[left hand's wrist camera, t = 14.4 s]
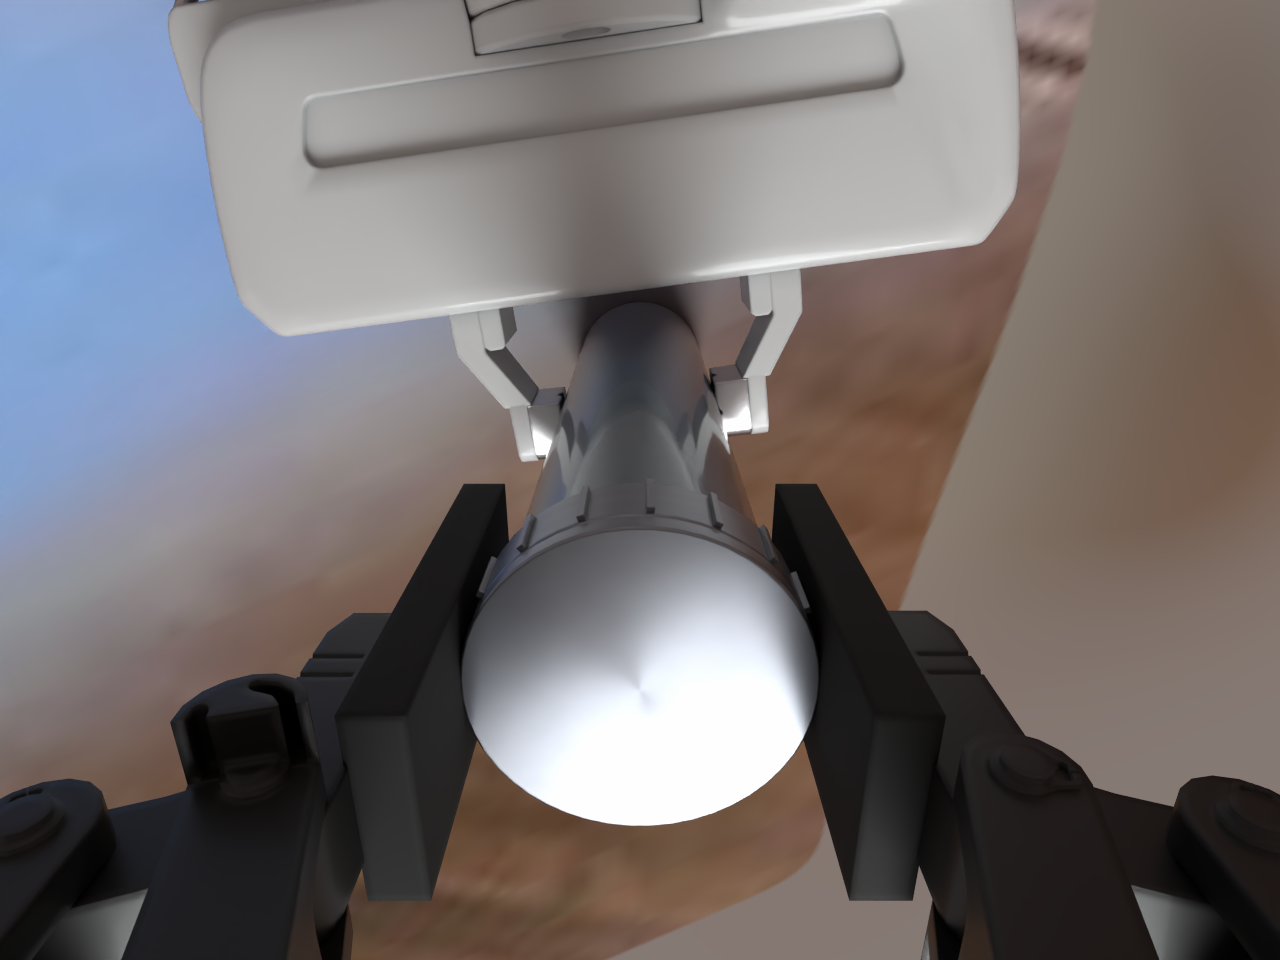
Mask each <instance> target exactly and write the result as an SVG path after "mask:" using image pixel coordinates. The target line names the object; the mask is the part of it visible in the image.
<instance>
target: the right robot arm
mask: <svg viewBox="0 0 1280 960" xmlns="http://www.w3.org/2000/svg"><path fill="white" fill-rule="evenodd" d="M198 1H199V0H175V3H174V6H173V8H172V9H171V11H170V13H169V17H168V31H169V38H170V43H171V47H172V50H173V53H174V56H175V60H176V63H177V66H178V69H179V72H180V76H181V79H182V82H183V85H184V88H185V92H186V95H187V98H188V100H189V103H190V105H191V107H192V109H193V111H194V113H195V114H196V116H197V117H198V119H199V120H200V122H201V123H202V126H203V134H204V141H205V148H206V155H207V161H208V168H209V174H210V181H211V186H212V192H213V197H214V202H215V207H216V212H217V217H218V222H219V227H220V231H221V236H222V240H223V244H224V249H225V253H226V257H227V261H228V265H229V268H230V272H231V276H232V280H233V283H234V286H235V289H236V292H237V295H238V297H239V299H240V301H241V303H242V304H243V306H244V307H245V308H246V309H247V310H249V311H250V312H251V313H252V314H253V315H254V316H256V317H257V318H258V319H259V320H260V321H261V322H262V323H264V324H265V325H266V326H267V327H268V328H270V329H271V330H272V331H274V332H275V333H276V334H278V335H281V336H296V335H304V334H312V333H319V332H327V331H334V330H342V329H349V328H357V327H364V326H372V325H379V324H387V323H394V322H402V321H409V320H417V319H424V318H432V317H439V316H447V315H449V319H450V324H451V328H452V333H453V337H454V342H455V346H456V351H457V355H458V357H459V358H460V359H461V360H462V361H463V362H464V364H465V365H466V366H467V367H468V368H469V369H470V370H471V371H472V373H473V374H474V375H475V376H476V377H477V378H478V379H479V380H480V381H481V383H482V384H483V385H484V386H485V387H486V388H487V389H488V390H489V391H490V393H491V394H492V395H493V396H494V397H495V398H496V399H497V400H498V402H499V403H500V404H501V405H502V406H503V407H504V408H509V410H510V415H511V420H512V424H513V429H514V434H515V439H516V444H517V449H518V454H519V457H520V459H521V461H522V462H525V461H538V460H540V459H546V455H547V452H548V449H549V446H550V443H551V440H552V437H553V434H554V431H555V428H556V425H557V422H558V419H559V416H560V413H561V410H562V407H563V404H564V401H565V398H566V390H565V387H557V388H547V389H539V388H538V387H537V385H536V384H535V383H534V382H533V380H532V379H531V378H530V377H529V375H528V374H527V373H526V372H525V370H524V369H523V368H522V367H521V365H520V364H519V363H518V362H517V360H516V359H515V358H514V357H513V355H512V354H511V353H510V352H509V350H508V349H507V348H506V347H505V345H506V344H507V343H508V341H509V340H510V339H511V337H512V336H513V335H514V333H515V332H516V331H517V328H516V323H515V317H514V311H513V307H514V306H522V305H529V304H537V303H544V302H552V301H559V300H567V299H574V298H582V297H589V296H597V295H604V294H612V293H619V292H627V291H634V290H642V289H649V288H657V287H664V286H672V285H679V284H687V283H694V282H702V281H709V280H717V279H724V278H732V277H740V286H741V296H742V301H743V303H744V304H745V305H746V307H747V308H748V309H749V311H750V312H751V313H752V314H754V315H755V316H756V318H755V320H754V322H753V324H752V327H751V329H750V331H749V333H748V336H747V338H746V340H745V342H744V344H743V347H742V349H741V351H740V353H739V356H738V358H737V360H736V362H735V363H736V364H734V365H727V366H721V367H714V368H709V372H710V383H711V386H712V390H713V393H714V396H715V399H716V402H717V405H718V408H719V411H720V414H721V417H722V420H723V423H724V426H725V429H726V432H727V435H728V437H729V436H738V435H747V434H755V433H763V432H768V427H769V418H768V404H767V390H766V376H767V375H770V374H771V372H772V370H773V368H774V366H775V364H776V362H777V360H778V358H779V356H780V354H781V352H782V350H783V348H784V346H785V344H786V342H787V340H788V338H789V337H790V335H791V333H792V331H793V329H794V327H795V325H796V323H797V321H798V319H799V317H800V315H801V313H802V295H801V273H800V268H807V267H815V266H822V265H830V264H837V263H845V262H852V261H860V260H867V259H875V258H882V257H890V256H897V255H905V254H912V253H920V252H927V251H935V250H942V249H950V248H957V247H964V246H971V245H976V244H979V243H981V242H983V241H984V240H985V239H986V238H987V237H988V235H989V234H990V233H991V232H992V231H993V229H994V228H995V227H996V225H997V224H998V222H999V221H1000V219H1001V218H1002V216H1003V215H1004V214H1005V212H1006V211H1007V209H1008V208H1009V206H1010V205H1011V203H1012V201H1013V199H1014V197H1015V193H1016V189H1017V182H1018V173H1019V156H1020V79H1019V57H1018V42H1017V29H1016V17H1015V7H1014V0H207V1H201V2H198Z"/></svg>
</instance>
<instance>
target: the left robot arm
mask: <svg viewBox="0 0 1280 960" xmlns="http://www.w3.org/2000/svg"><path fill="white" fill-rule="evenodd" d="M508 542H509V536H508V522H507V508H506V494H505V484H464V485H463V487H462V488H461V490H460V492H459V494H458V496H457V497H456V499H455V501H454V503H453V505H452V506H451V508H450V510H449V512H448V513H447V515H446V517H445V519H444V521H443V522H442V524H441V526H440V528H439V530H438V531H437V533H436V535H435V537H434V539H433V540H432V542H431V544H430V546H429V547H428V549H427V551H426V553H425V555H424V556H423V558H422V560H421V562H420V564H419V565H418V567H417V569H416V571H415V573H414V574H413V576H412V578H411V580H410V581H409V583H408V585H407V587H406V589H405V590H404V592H403V594H402V596H401V598H400V599H399V601H398V603H397V605H396V607H395V608H394V610H393V612H392V613H354V614H352V615H351V616H349V617H348V618H347V619H345V620H344V621H342V622H341V623H340V624H338V625H337V626H335V627H334V628H333V629H331V630H330V631H328V632H327V634H326V635H325V637H324V638H323V640H322V641H321V643H320V644H319V646H318V647H317V649H316V650H315V652H314V653H313V658H310V659H309V661H308V662H307V663H306V665H305V666H304V668H303V669H302V671H301V672H300V673H301V675H300V677H297V678H296V679H295V678H292V677H288V676H284V675H280V674H253V675H248V676H244V677H240V678H236V679H232V680H228V681H225V682H223V683H221V684H218V685H216V686H214V687H212V688H209V689H207V690H205V691H203V692H201V693H200V694H198V695H197V696H196V697H194V698H193V699H192V700H190V701H189V702H187V703H186V704H185V705H183V706H182V707H181V709H180V710H179V711H178V713H177V714H176V715H175V716H174V718H173V719H172V720H171V722H170V723H171V727H172V730H173V734H174V738H175V741H176V745H177V748H178V752H179V755H180V759H181V763H182V766H183V770H184V773H185V777H186V780H187V784H188V786H187V788H186V791H183V792H180V793H177V794H173V795H170V796H166V797H162V798H158V799H153V800H149V801H145V802H140V803H136V804H131V805H127V806H123V807H118V808H114V809H109V810H108V809H107V806H106V803H105V800H104V797H103V794H102V791H100V790H99V789H98V788H97V787H96V786H94V785H93V784H92V783H91V782H88V781H81V780H75V779H63V780H56V781H49V782H42V783H39V784H36V785H33V786H30V787H27V788H24V789H21V790H18V791H16V792H13V793H11V794H9V795H7V796H5V797H3V798H1V799H0V960H351V949H352V938H353V929H352V922H351V916H350V910H349V905H348V901H349V899H350V896H351V894H352V891H353V889H354V886H355V884H356V881H357V879H358V876H359V874H360V871H361V869H362V871H363V876H364V882H365V887H366V893H367V898H368V901H431V899H432V895H433V892H434V888H435V885H436V881H437V878H438V874H439V871H440V867H441V864H442V860H443V857H444V853H445V850H446V846H447V843H448V839H449V836H450V832H451V829H452V825H453V822H454V818H455V815H456V811H457V808H458V804H459V801H460V797H461V794H462V790H463V787H464V783H465V780H466V776H467V773H468V769H469V766H470V762H471V759H472V755H473V752H474V748H475V745H476V741H477V739H476V737H475V735H474V733H473V731H472V728H471V726H470V724H469V721H468V719H467V716H466V713H465V709H464V705H463V699H462V690H461V680H460V661H461V654H462V650H463V645H464V641H465V637H466V634H467V632H468V629H469V626H470V624H471V621H472V618H473V616H474V613H475V610H476V608H477V605H478V602H479V600H480V598H479V597H476V594H477V591H478V589H479V586H480V583H481V581H482V578H483V576H484V573H485V571H486V568H487V565H488V563H489V561H490V559H491V557H492V556H493V557H495V558H498V556H499V554H500V553H501V551H502V550H503V548H504V547H505V546H506V545H507V543H508ZM772 543H773V544H774V545H775V547H776V548H777V549H778V551H779V552H780V553H781V555H782V557H783V559H784V561H785V562H786V564H787V566H788V568H789V569H790V572H791V573H793V572H795V571H796V572H797V575H798V577H799V580H800V582H801V585H802V587H803V590H804V593H805V595H806V598H807V600H808V603H809V605H810V608H811V611H812V613H809V614H806V615H807V617H808V620H809V623H810V626H811V628H812V631H813V634H814V636H815V639H816V643H817V648H818V653H819V657H820V686H819V695H818V703H817V707H816V710H815V714H814V718H813V720H812V723H811V725H810V727H809V729H808V732H807V734H806V736H805V738H804V743H805V747H806V750H807V754H808V757H809V761H810V764H811V768H812V771H813V775H814V778H815V782H816V785H817V789H818V792H819V796H820V799H821V803H822V806H823V810H824V813H825V817H826V820H827V824H828V827H829V830H830V834H831V837H832V841H833V845H834V848H835V851H836V855H837V858H838V862H839V866H840V869H841V873H842V876H843V880H844V883H845V886H846V890H847V894H848V897H849V900H850V901H912V900H913V895H914V890H915V884H916V879H917V873H918V868H919V866H920V869H921V871H922V874H923V876H924V879H925V881H926V884H927V886H928V889H929V891H930V894H931V896H932V899H933V900H932V905H931V911H930V915H929V921H928V926H927V931H926V936H925V941H924V946H923V951H922V956H921V960H1280V795H1279V794H1277V793H1275V792H1273V791H1272V790H1270V789H1267V788H1264V787H1261V786H1259V785H1255V784H1253V783H1249V782H1246V781H1243V780H1240V779H1234V778H1226V777H1219V776H1206V777H1200V778H1193V779H1191V780H1190V781H1188V782H1187V783H1186V784H1185V785H1184V786H1182V787H1181V788H1180V790H1179V793H1178V796H1177V799H1176V802H1175V805H1174V807H1172V806H1167V805H1163V804H1159V803H1154V802H1150V801H1145V800H1141V799H1136V798H1132V797H1128V796H1123V795H1119V794H1115V793H1111V792H1108V791H1105V790H1101V789H1098V788H1094V787H1093V784H1092V783H1091V781H1090V780H1089V778H1088V777H1087V775H1086V774H1085V772H1084V771H1083V769H1082V768H1081V766H1079V765H1078V764H1077V763H1076V762H1074V761H1073V760H1072V759H1071V758H1070V757H1068V756H1067V755H1066V754H1065V753H1063V752H1062V751H1060V750H1058V749H1056V748H1054V747H1052V746H1050V745H1048V744H1046V743H1044V742H1042V741H1040V740H1038V739H1035V738H1031V737H1027V736H1025V735H1024V733H1023V732H1022V730H1021V729H1020V727H1019V726H1018V724H1017V723H1016V721H1015V720H1014V718H1013V717H1012V715H1011V714H1010V712H1009V711H1008V710H1007V708H1006V707H1005V705H1004V704H1003V702H1002V701H1001V699H1000V698H999V696H998V695H997V693H996V692H995V690H994V689H993V687H992V686H991V685H990V683H989V682H988V680H987V679H986V677H985V676H984V675H981V672H980V671H981V670H980V668H979V667H978V665H977V664H976V662H975V661H974V659H973V658H972V657H971V656H968V651H967V649H966V648H965V646H964V645H963V643H962V642H961V640H960V639H959V637H958V636H957V634H956V633H955V631H954V630H953V629H952V628H950V627H949V626H947V625H946V624H945V623H943V622H942V621H940V620H939V619H938V618H936V617H935V616H933V615H932V614H931V613H929V612H928V611H887V609H886V607H885V606H884V604H883V602H882V600H881V598H880V597H879V595H878V593H877V591H876V590H875V588H874V586H873V584H872V582H871V581H870V579H869V577H868V575H867V573H866V572H865V570H864V568H863V566H862V564H861V563H860V561H859V559H858V557H857V556H856V554H855V552H854V550H853V548H852V547H851V545H850V543H849V541H848V539H847V538H846V536H845V534H844V532H843V530H842V529H841V527H840V525H839V523H838V522H837V520H836V518H835V516H834V514H833V513H832V511H831V509H830V507H829V505H828V504H827V502H826V500H825V498H824V496H823V495H822V493H821V491H820V489H819V488H818V486H817V484H776V487H775V501H774V515H773V529H772Z"/></svg>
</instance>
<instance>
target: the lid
mask: <svg viewBox="0 0 1280 960" xmlns="http://www.w3.org/2000/svg"><path fill="white" fill-rule="evenodd" d="M476 597H479V598H480V600H479V602H478V605H477V608H476V610H475V613H474V616H473V618H472V621H471V624H470V626H469V629H468V632H467V634H466V637H465V641H464V645H463V650H462V654H461V661H460V680H461V690H462V699H463V705H464V709H465V713H466V716H467V719H468V721H469V724H470V726H471V728H472V731H473V733H474V735H475V737H476V739H477V740H478V742H479V744H480V745H481V747H482V749H483V750H484V752H485V753H486V754H487V756H488V757H489V758H490V759H491V761H492V762H493V763H494V764H495V765H496V767H497V768H498V769H499V770H500V771H501V772H502V773H503V774H504V775H506V776H507V777H508V778H509V779H510V780H511V781H512V782H513V783H515V784H516V785H517V786H519V787H520V788H521V789H523V790H524V791H525V792H527V793H528V794H530V795H531V796H533V797H535V798H536V799H538V800H540V801H542V802H543V803H545V804H547V805H549V806H552V807H554V808H556V809H558V810H561V811H563V812H565V813H568V814H571V815H574V816H578V817H581V818H584V819H588V820H592V821H597V822H602V823H607V824H616V825H626V826H654V825H665V824H673V823H678V822H683V821H688V820H693V819H696V818H700V817H703V816H706V815H709V814H713V813H715V812H717V811H720V810H722V809H724V808H727V807H729V806H731V805H733V804H735V803H737V802H739V801H741V800H742V799H744V798H746V797H748V796H749V795H751V794H752V793H754V792H755V791H757V790H758V789H759V788H761V787H762V786H763V785H765V784H766V783H767V782H769V781H770V780H771V779H772V778H773V777H774V776H775V775H776V774H777V773H778V772H779V771H780V770H781V769H782V768H783V767H784V766H785V765H786V764H787V762H788V761H789V760H790V759H791V758H792V756H793V755H794V754H795V752H796V751H797V749H798V748H799V746H800V744H801V743H802V741H803V740H804V738H805V736H806V734H807V732H808V729H809V727H810V725H811V723H812V720H813V718H814V714H815V710H816V707H817V703H818V695H819V686H820V657H819V653H818V648H817V643H816V639H815V636H814V634H813V631H812V628H811V626H810V623H809V620H808V617H807V615H806V614H809V613H812V611H811V608H810V605H809V603H808V600H807V598H806V595H805V593H804V590H803V587H802V585H801V582H800V580H799V577H798V575H797V572H796V571H795V572H793V573H791V572H790V569H789V568H788V566H787V564H786V562H785V561H784V559H783V557H782V555H781V553H780V552H779V551H778V549H777V548H776V547H775V545H774V544H773V543H772V541H771V538H770V535H769V532H768V529H767V528H766V527H765V526H764V525H762V526H761V527H759V528H758V527H757V526H756V525H755V524H754V523H753V522H752V521H750V520H749V519H748V518H746V517H745V516H744V515H742V514H741V513H739V512H738V511H737V510H735V509H733V508H731V507H730V506H728V505H726V504H724V503H722V502H721V501H719V500H718V497H717V494H715V493H713V492H710V493H709V495H708V496H707V495H704V494H701V493H699V492H696V491H692V490H688V489H684V488H680V487H676V486H670V485H662V484H654V479H653V478H647V479H646V483H627V484H618V485H610V486H604V487H600V488H596V489H592V490H590V488H589V486H588V485H587V486H584V487H582V488H581V493H579V494H576V495H574V496H571V497H569V498H566V499H564V500H562V501H560V502H558V503H556V504H554V505H553V506H551V507H549V508H547V509H545V510H544V511H542V512H541V513H540V514H538V515H537V516H534V515H533V514H532V513H531V514H529V515H528V516H527V517H526V519H525V522H524V525H523V527H522V528H521V529H520V530H519V531H518V532H517V533H516V534H515V535H514V536H513V537H512V538H511V540H510V541H509V542H508V543H507V545H506V546H505V547H504V548H503V550H502V551H501V553H500V554H499V556H498V558H495V557H493V556H492V557H491V559H490V561H489V563H488V565H487V568H486V571H485V573H484V576H483V578H482V581H481V583H480V586H479V589H478V591H477V594H476Z"/></svg>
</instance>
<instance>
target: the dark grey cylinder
mask: <svg viewBox="0 0 1280 960" xmlns="http://www.w3.org/2000/svg"><path fill="white" fill-rule="evenodd" d="M647 478H653V479H654V484H662V485H670V486H676V487H680V488H684V489H688V490H692V491H696V492H699V493H701V494H704V495H707V496H708V495H709V493H710V492H713V493H715V494H717V497H718V500H719V501H721V502H722V503H724V504H726V505H728V506H730V507H731V508H733V509H735V510H737V511H738V512H739V513H741V514H742V515H744V516H745V517H746V518H748V519H749V520H750V521H752V522H753V523H754V524H755V525H756V526H757V524H756V521H755V518H754V515H753V512H752V509H751V506H750V503H749V500H748V497H747V494H746V490H745V487H744V484H743V481H742V478H741V475H740V472H739V469H738V466H737V463H736V460H735V457H734V454H733V451H732V448H731V445H730V442H729V438H728V435H727V432H726V429H725V426H724V423H723V420H722V417H721V414H720V411H719V408H718V405H717V402H716V399H715V396H714V393H713V390H712V386H711V383H710V380H709V377H708V374H707V371H706V368H705V365H704V362H703V359H702V356H701V353H700V350H699V347H698V344H697V341H696V338H695V336H694V334H693V332H692V330H691V329H690V328H689V326H688V325H687V324H686V322H685V321H684V320H683V319H682V318H681V317H679V316H678V315H677V314H676V313H674V312H673V311H671V310H669V309H667V308H665V307H663V306H660V305H657V304H653V303H647V302H634V303H628V304H624V305H621V306H618V307H616V308H613V309H612V310H610V311H608V312H607V313H605V314H604V315H603V316H601V317H600V318H599V319H598V320H597V321H596V322H595V323H594V325H593V326H592V327H591V328H590V330H589V332H588V334H587V335H586V338H585V340H584V343H583V346H582V349H581V352H580V355H579V358H578V361H577V364H576V367H575V370H574V373H573V376H572V379H571V382H570V385H569V388H568V392H567V395H566V398H565V401H564V404H563V407H562V410H561V413H560V416H559V419H558V422H557V425H556V428H555V431H554V434H553V437H552V440H551V443H550V446H549V449H548V452H547V455H546V459H545V462H544V465H543V468H542V471H541V474H540V477H539V480H538V483H537V486H536V489H535V492H534V495H533V498H532V501H531V504H530V507H529V510H528V513H527V516H528V515H529V514H531V513H532V514H533V515H534V516H537V515H538V514H540V513H541V512H542V511H544V510H545V509H547V508H549V507H551V506H553V505H554V504H556V503H558V502H560V501H562V500H564V499H566V498H569V497H571V496H574V495H576V494H579V493H581V488H582V487H584V486H587V485H588V486H589V488H590V490H592V489H596V488H600V487H604V486H610V485H618V484H627V483H646V479H647ZM527 516H526V517H527Z"/></svg>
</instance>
